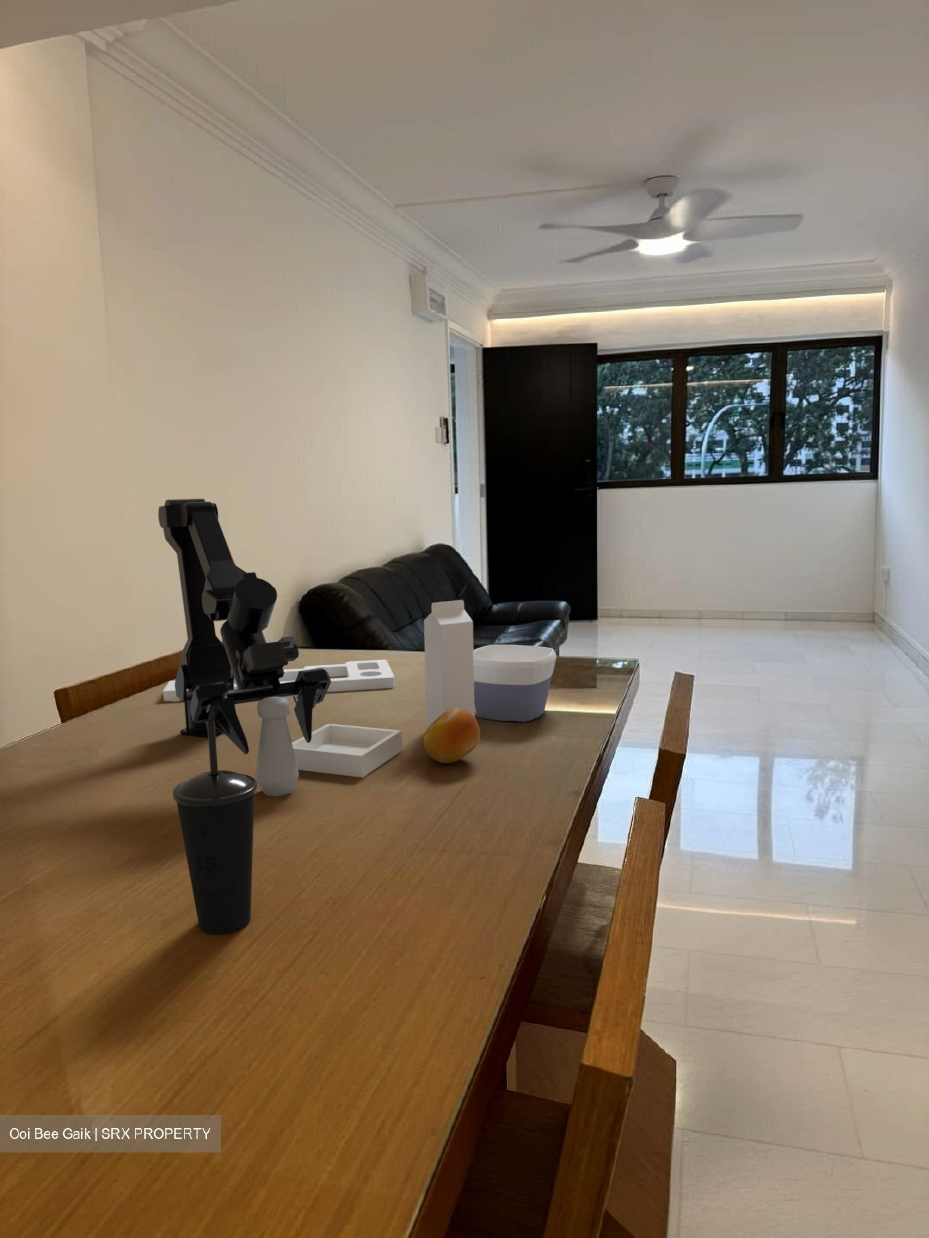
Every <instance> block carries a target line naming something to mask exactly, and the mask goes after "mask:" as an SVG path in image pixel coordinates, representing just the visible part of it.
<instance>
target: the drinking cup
mask: <svg viewBox="0 0 929 1238" xmlns="http://www.w3.org/2000/svg"><path fill="white" fill-rule="evenodd" d="M207 729H208V736H207V739H208V740H207V742H208V754H209V768H210V770H209V771H206V772H202V773H200V774H197V775H194V776H193V777H190V778H188V779H187V780H184V781H182V782H180V783H178V784H177V785H176V786H175V787H174V788H173V789H172V798H173V800H174V801H175V802H176V805H177V806H176V807H177V811H178V815H179V822H180V828H181V833H182V838H183V844H184V850H185V855H186V861H187V867H188V868H187V869H188V872H189V878H190V883H191V888H192V894H193V895H192V896H193V899H194V907H195V912H196V917H197V918H196V919H197V922H198V927H199V930H201V931H202V932H204V933H205V934H210V935H227V934H231V933H234V932H237V931H240V930H241V929H243V928H245V927H246V926H247V925H248V924H249V923H250V921H251V918H252V891H253V889H252V886H253V885H252V884H253V853H254V845H253V844H254V824H255V823H254V820H255V819H254V816H255V812H254V811H255V793H256V792H257V790H258V783H257V781H256V778H255V777H252V775H248V774H244V773H239V772H236V771H231V770H222V769H221V770H219V768H218V767H219V765H218V752H217V751H218V750H217V749H218V748H217V738H216V737H217V734H216V735H215V721H214V720H208V721H207Z"/></svg>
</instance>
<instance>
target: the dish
mask: <svg viewBox="0 0 929 1238" xmlns="http://www.w3.org/2000/svg"><path fill="white" fill-rule="evenodd" d="M402 737H403V736H402V730H397V729H387V728H377V727H365V726H357V725H348V724H347V725H346V724H338V723H337V724H336V723H327V724H324V725H322V726H321V727H319V728H317V729H315V730H312V739H311V741H310V743H307V742H306V740H305V738H304V736H302V737H300V738H298V739H296V740H295V741H291V742H292V746H293V750H294V754H295V759H296V763H297V767H298V771H305V772H313V773H322V774H329V775H330V774H331V775H336V776H337V775H339V776H347V777H354V778H364V777H366V776H367V775H369V774H370V773H372V772H373V771H374V770H376V769H377V768H379V767H381V766H382V765H383V764H385V763H387V761H389V760H390V759H392V758H393V757H395V756H396V755H398V754H399V753H401V752H402V751H403V740H402V739H403V738H402Z"/></svg>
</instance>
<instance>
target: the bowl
mask: <svg viewBox="0 0 929 1238" xmlns="http://www.w3.org/2000/svg"><path fill="white" fill-rule="evenodd" d="M473 660H474V709H475V711H476V715H477V717H478V718H479V719H483V718H486V719H485V720H489V719H492V720H491V721H496V720H500V721H499V722H506V721H518V722H517V723H528V722H527V721H529V722H531V720H532V721H534V720H536V719H538V718H539V717H541V716H542V715H543V714H544V712H545V709H546V705H547V702H548V701H547V700H548V695H549V691H550V686H551V681H552V677H553V673H554V669H555V664H556V660H557V654H556V651H555V650H554V649H553V647H551V648H550V647H545V646H535V645H523V644H522V645H519V644H518V645H517V644H489V645H485V646H481V647H478V648H476V649H473ZM535 718H536V719H535ZM533 719H534V720H533Z"/></svg>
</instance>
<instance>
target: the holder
mask: <svg viewBox="0 0 929 1238" xmlns="http://www.w3.org/2000/svg"><path fill="white" fill-rule="evenodd" d="M317 668H323V669H325V670H326V671H327V672H328V674H329V677H330V679H331V684H330V686H329V688H328V690H327V693H330V692H332V693H333V692H348V691H364V690H379V689H381V690H382V689H383V690H384V689H394V688H396V687H395V686H396V685H395V683H396V681H395V675H394V673H393V671H392V669H391V666H390V664H389V662H388V659H378V660H377V659H375V660H374V659H373V660H372V659H371V660H356V661H355V660H353V661H346V662H345V663H342V664H341V663H339V664H323V665H305V666H304V668H292V669H291V668H290V669H289V668H287V669H286V668H285V669H283V670H284V675H283V677H282V678H279V681H280V683H287V682H294V681H295V680H296V678H297V675H298V673H299V671H302V670H310V669H317ZM334 677H335V678H334ZM336 677H337V678H336ZM175 681H176V679H175V680H169V682H168V683H167V684H166V686H165V687H164V689H163V690H162V691H163V692H162V693H163V702H164V701H173V702H181V701H180V699H179V698H178V697H177V696H176V690H175ZM236 689H238V688H237V685H236V682H235V678H234V690H236ZM187 691H189V690H188V689H187Z"/></svg>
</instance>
